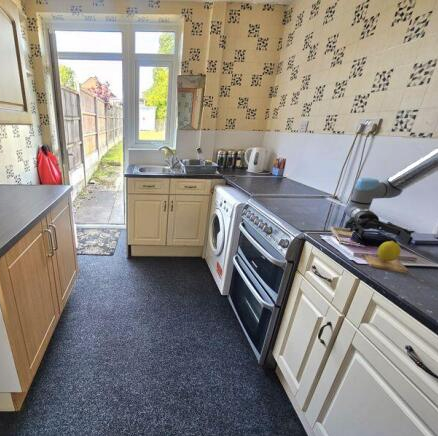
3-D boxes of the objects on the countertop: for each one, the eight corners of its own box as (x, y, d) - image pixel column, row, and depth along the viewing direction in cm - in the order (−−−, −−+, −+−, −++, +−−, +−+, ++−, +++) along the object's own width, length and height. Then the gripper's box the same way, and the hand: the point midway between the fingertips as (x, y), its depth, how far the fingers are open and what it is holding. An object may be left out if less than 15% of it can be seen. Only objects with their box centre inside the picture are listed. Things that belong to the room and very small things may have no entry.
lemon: (370, 258, 88) (378, 238, 85) (380, 256, 90) (389, 236, 87) (388, 266, 83) (397, 245, 80) (399, 264, 85) (408, 243, 82)
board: (396, 261, 88) (397, 259, 88) (407, 273, 82) (409, 270, 81) (362, 255, 92) (363, 253, 92) (370, 266, 85) (371, 263, 85)
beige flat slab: (352, 232, 113) (353, 229, 112) (365, 247, 98) (366, 244, 98) (329, 228, 116) (330, 226, 115) (339, 243, 102) (340, 240, 101)
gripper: (398, 231, 104) (426, 253, 86) (328, 221, 113) (340, 239, 95) (405, 214, 101) (436, 234, 83) (333, 206, 110) (347, 222, 92)
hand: (385, 237), depth 89 cm, fingers open, 13 cm apart
